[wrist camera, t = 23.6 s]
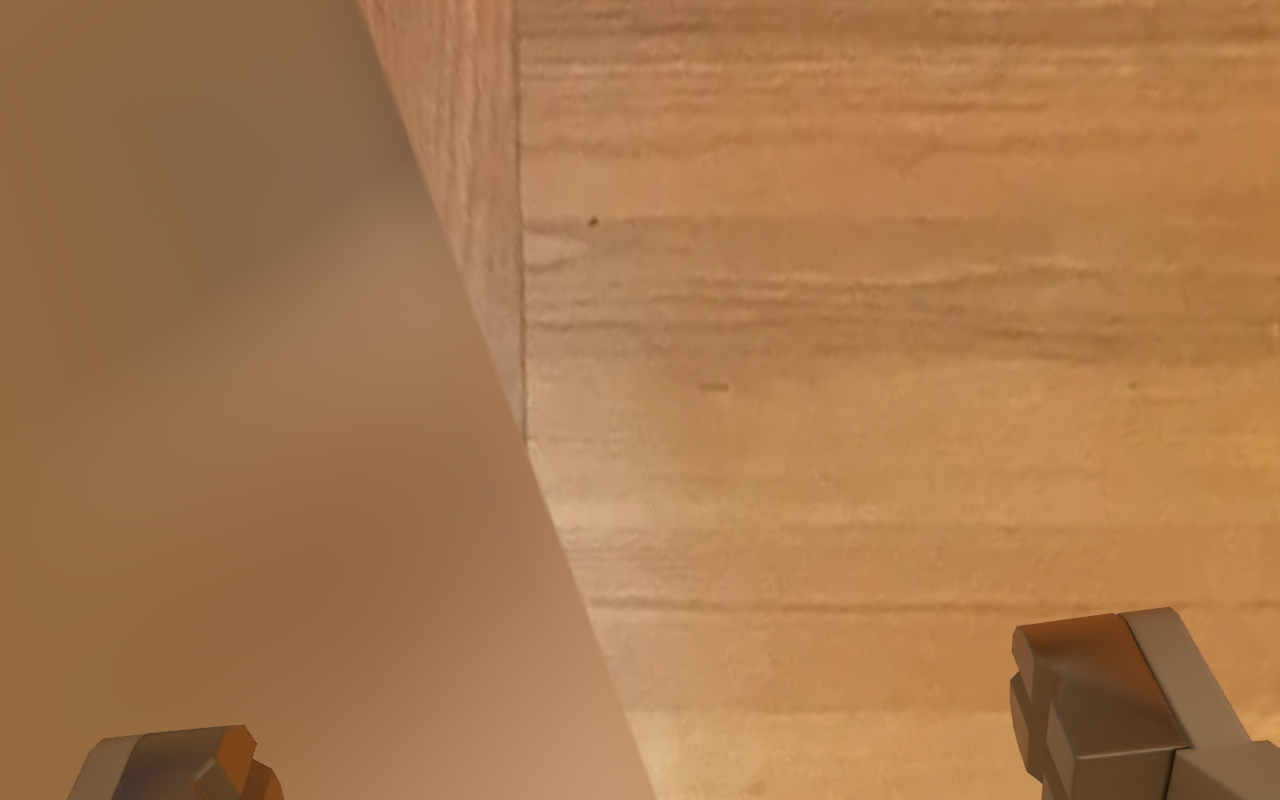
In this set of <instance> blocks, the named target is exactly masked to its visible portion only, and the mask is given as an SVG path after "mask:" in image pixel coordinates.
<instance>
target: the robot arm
mask: <svg viewBox="0 0 1280 800" xmlns="http://www.w3.org/2000/svg"><path fill="white" fill-rule="evenodd" d="M1012 653H1013V656H1014V658H1015V661H1016V664H1017V666H1018V669H1019V672H1018V673H1017V674H1016V675H1015V676H1014V677H1013V678H1012V679H1011V680H1010V706H1011V713H1012V720H1013V728H1014V732H1015V735H1016V739H1017V743H1018V747H1019V750H1020V753H1021V756H1022V759H1023V762H1024V765H1025V768H1026V771H1027V772H1028V773H1030V774H1031V775H1032V776H1033V777H1035V778H1036V779H1037V780H1038V781H1040V782H1041V783H1042V784H1043V788H1042V800H1280V748H1279V747H1277V746H1276V745H1274V744H1273V743H1271V742H1270V741H1268V740H1267V741H1254V742H1252V741H1251V739H1250V737H1249V736H1248V734H1247V732H1246V731H1245V729H1244V727H1243V725H1242V724H1241V722H1240V720H1239V718H1238V717H1237V715H1236V713H1235V711H1234V710H1233V708H1232V706H1231V704H1230V703H1229V701H1228V699H1227V697H1226V696H1225V694H1224V692H1223V690H1222V689H1221V687H1220V685H1219V683H1218V682H1217V680H1216V678H1215V676H1214V675H1213V673H1212V671H1211V669H1210V668H1209V666H1208V664H1207V663H1206V661H1205V659H1204V657H1203V656H1202V654H1201V652H1200V650H1199V649H1198V647H1197V645H1196V643H1195V642H1194V640H1193V638H1192V636H1191V635H1190V633H1189V631H1188V629H1187V628H1186V626H1185V624H1184V622H1183V621H1182V619H1181V617H1180V615H1179V614H1178V613H1177V612H1175V611H1174V610H1173V609H1171V608H1170V607H1165V608H1157V609H1149V610H1141V611H1133V612H1125V613H1118V614H1114V613H1109V614H1102V615H1095V616H1088V617H1080V618H1073V619H1066V620H1058V621H1051V622H1044V623H1037V624H1029V625H1022V626H1017V627H1016V629H1015V631H1014V633H1013V642H1012ZM256 745H257V743H256V741H255V740H254V738H253V737H252V735H251V734H250V732H249V731H248V730H247V728H246V726H245V725H231V726H221V727H211V728H200V729H191V730H179V731H169V732H160V733H148V734H141V735H133V736H123V737H114V738H105V739H102V740H101V741H100V742H99V743H98V744H97V745H96V746H95V747H94V748H93V749H92V750H91V751H90V752H89V754H88V756H87V758H86V760H85V762H84V764H83V766H82V769H81V771H80V773H79V775H78V777H77V779H76V781H75V784H74V786H73V788H72V790H71V792H70V794H69V797H68V799H67V800H284V796H283V793H282V788H281V785H280V782H279V780H278V779H277V777H276V775H275V773H274V771H273V770H272V769H271V768H269V767H267V766H265V765H264V764H262V763H260V762H258V761H256V760H254V759H253V755H254V752H255V748H256Z"/></svg>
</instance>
